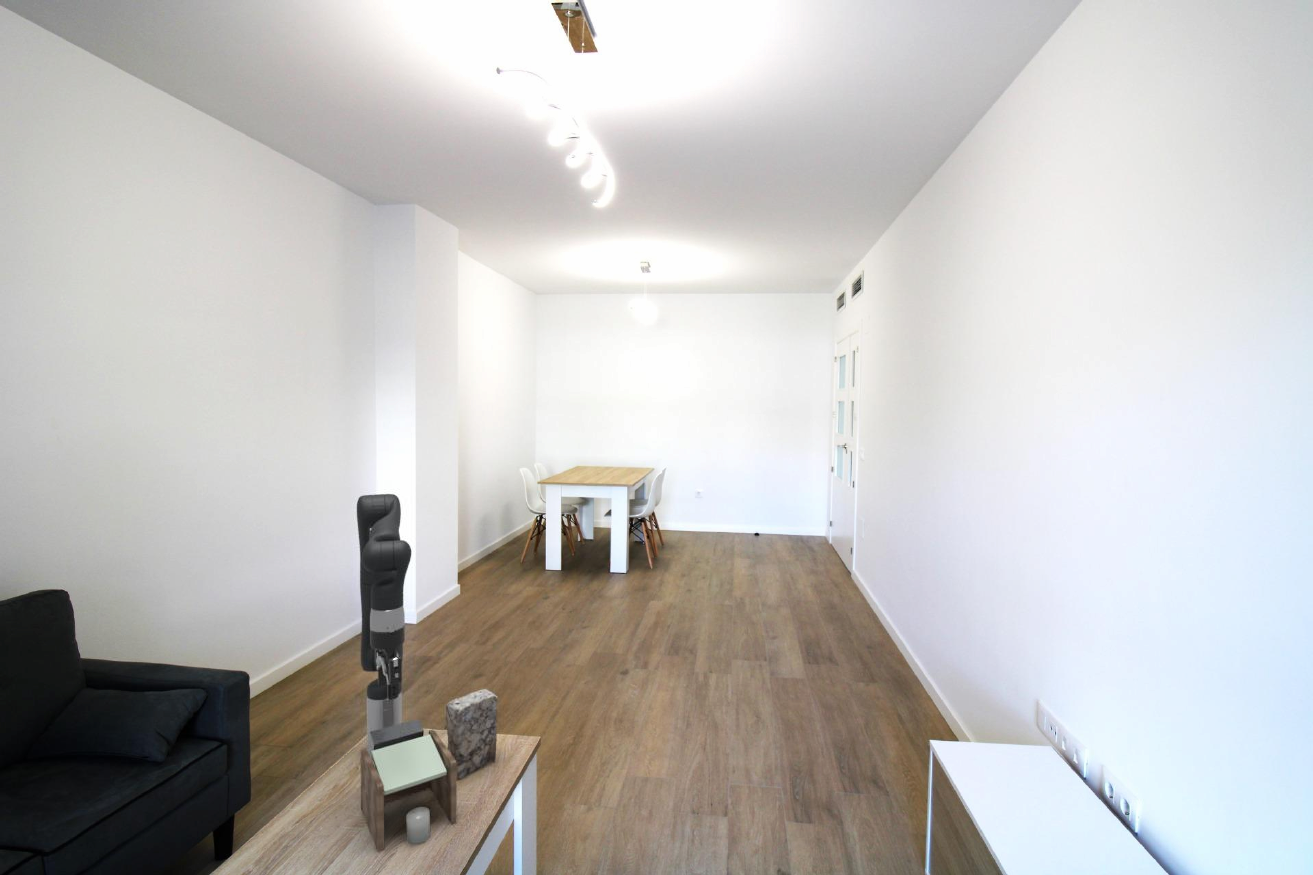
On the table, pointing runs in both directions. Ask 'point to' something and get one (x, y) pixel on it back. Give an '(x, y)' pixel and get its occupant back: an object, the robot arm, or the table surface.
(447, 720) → the stone block
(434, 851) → the table surface
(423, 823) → the smooth gray cylinder
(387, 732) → the trapdoor
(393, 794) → the stand
